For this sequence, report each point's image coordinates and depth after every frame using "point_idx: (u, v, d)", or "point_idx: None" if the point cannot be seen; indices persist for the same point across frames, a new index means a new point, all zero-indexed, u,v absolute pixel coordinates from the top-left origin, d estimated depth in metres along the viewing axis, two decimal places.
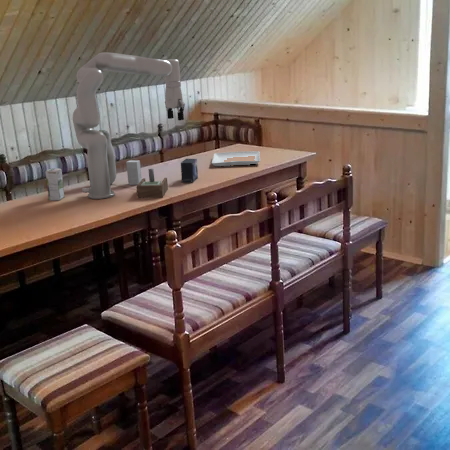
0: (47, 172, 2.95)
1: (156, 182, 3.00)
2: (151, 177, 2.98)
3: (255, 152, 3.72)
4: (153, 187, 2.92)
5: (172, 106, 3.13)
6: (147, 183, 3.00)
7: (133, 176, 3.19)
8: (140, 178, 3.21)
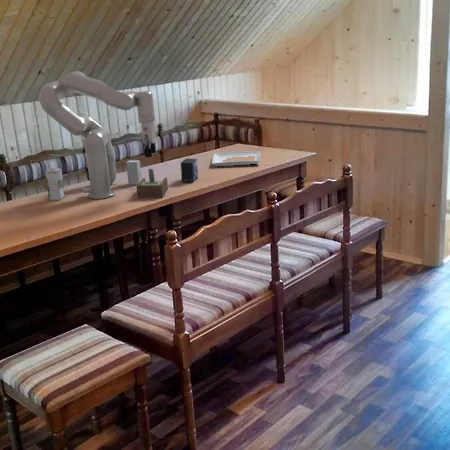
0: (47, 172, 2.95)
1: (156, 182, 3.00)
2: (151, 177, 2.98)
3: (255, 152, 3.72)
4: (153, 187, 2.92)
5: (155, 139, 2.96)
6: (147, 183, 3.00)
7: (133, 176, 3.19)
8: (140, 178, 3.21)
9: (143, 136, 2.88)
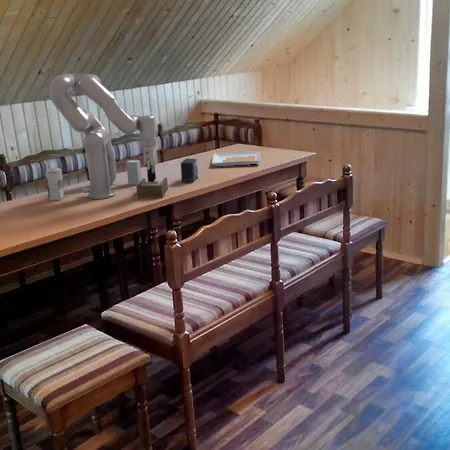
0: (47, 172, 2.95)
1: (156, 182, 3.00)
2: None
3: (255, 152, 3.72)
4: (153, 187, 2.92)
5: (157, 162, 2.99)
6: (147, 183, 3.00)
7: (133, 176, 3.19)
8: (140, 178, 3.21)
9: (145, 160, 2.92)
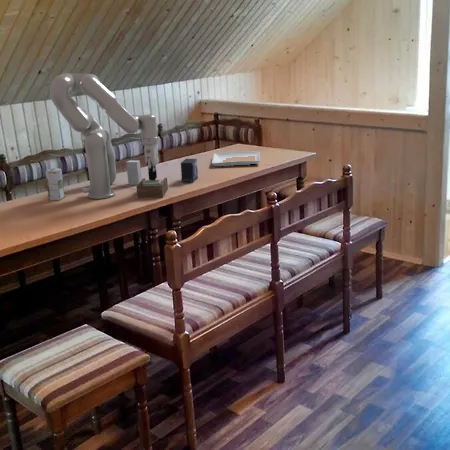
0: (47, 172, 2.95)
1: (157, 181, 3.02)
2: None
3: (255, 152, 3.72)
4: (153, 187, 2.92)
5: (158, 161, 3.02)
6: (148, 182, 3.03)
7: (133, 176, 3.19)
8: (140, 178, 3.21)
9: (146, 158, 2.95)
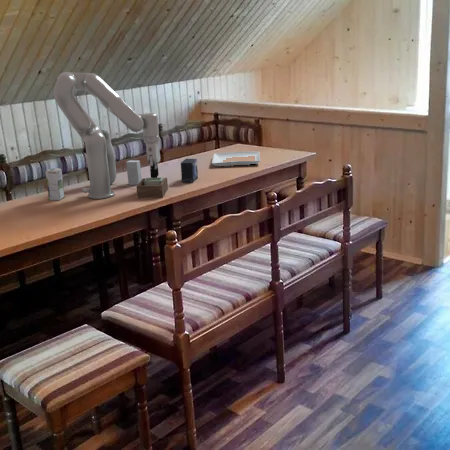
0: (47, 172, 2.95)
1: (159, 178, 3.07)
2: None
3: (255, 152, 3.72)
4: (153, 187, 2.92)
5: (159, 158, 3.07)
6: (150, 179, 3.07)
7: (133, 176, 3.19)
8: (140, 178, 3.21)
9: (148, 156, 2.99)
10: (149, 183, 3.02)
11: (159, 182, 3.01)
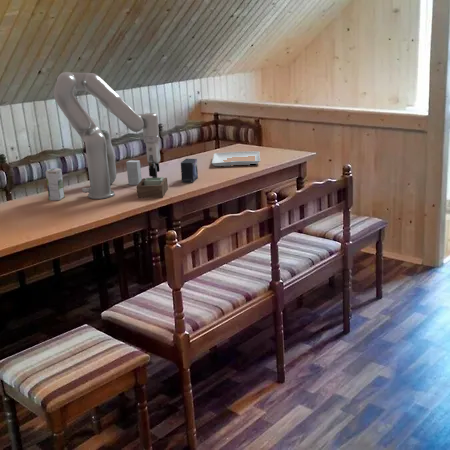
0: (47, 172, 2.95)
1: (159, 178, 3.07)
2: None
3: (255, 152, 3.72)
4: (153, 187, 2.92)
5: (159, 158, 3.07)
6: (150, 179, 3.07)
7: (133, 176, 3.19)
8: (140, 178, 3.21)
9: (148, 156, 2.99)
10: (149, 183, 3.02)
11: (159, 182, 3.01)
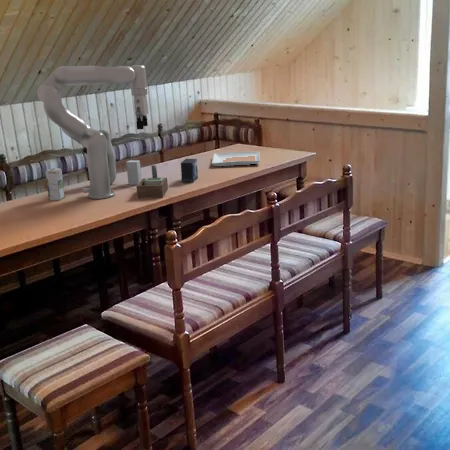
0: (47, 172, 2.95)
1: (159, 178, 3.07)
2: (154, 173, 3.06)
3: (255, 152, 3.72)
4: (153, 187, 2.92)
5: (147, 112, 3.05)
6: (150, 179, 3.07)
7: (133, 176, 3.19)
8: (140, 178, 3.21)
9: (135, 108, 2.97)
10: (149, 183, 3.02)
11: (159, 182, 3.01)
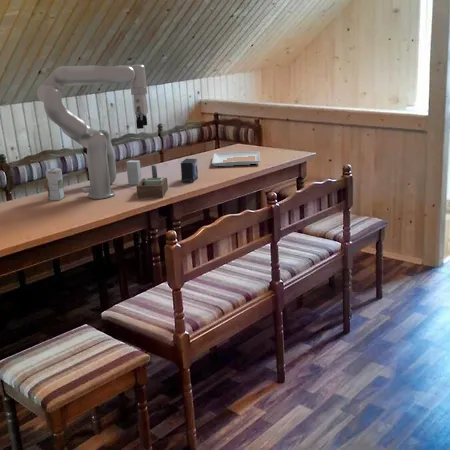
0: (47, 172, 2.95)
1: (159, 178, 3.07)
2: (154, 173, 3.06)
3: (255, 152, 3.72)
4: (153, 187, 2.92)
5: (147, 111, 3.05)
6: (150, 179, 3.07)
7: (133, 176, 3.19)
8: (140, 178, 3.21)
9: (135, 108, 2.98)
10: (149, 183, 3.02)
11: (159, 182, 3.01)
